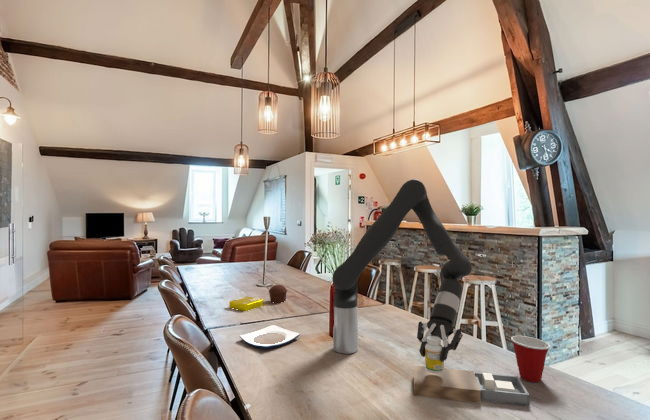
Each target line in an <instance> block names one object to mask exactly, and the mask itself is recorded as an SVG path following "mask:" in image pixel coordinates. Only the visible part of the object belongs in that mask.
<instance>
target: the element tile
mask: <svg viewBox="0 0 650 420" xmlns="http://www.w3.org/2000/svg"><path fill="white" fill-rule="evenodd" d="M228 303H229V304H228V306H229V307H230V308H234V309H238V310H242V311H241V312H243V311H247V312H249V311H248V310H251V309H254V308H257V307H260V306H263V307H264V299H263V298H259V297H253V296H248V295H247V296H243V297H239V298H237V299H233V300H230V301H229V302H228ZM229 307H228V308H229ZM230 308H229V309H230ZM260 308H261V307H260ZM234 309H233V310H234ZM257 309H258V308H257ZM238 310H237V311H238ZM254 310H255V309H254ZM251 311H252V310H251Z"/></svg>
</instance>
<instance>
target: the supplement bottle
mask: <svg viewBox="0 0 650 420" xmlns="http://www.w3.org/2000/svg"><path fill="white" fill-rule="evenodd" d="M441 341H442V340H441V339H440V338H439V337H437V336H428V337H427V344H426V345H425V357H424V358H425V364H424V365H425V367H426V369H427V371H429V372H431V373H442V372H443V371H444V368H445V367H444V366H445V365H444V363H445V361H444V362H441V361H440V354H441V350H442V347H443V344H441V343H442V342H441Z"/></svg>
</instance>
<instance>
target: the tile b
mask: <svg viewBox="0 0 650 420" xmlns="http://www.w3.org/2000/svg"><path fill="white" fill-rule="evenodd" d="M494 384H495V390H497V391H507V392H515V389H514V387H513V385H512V382H507V381H499V380H494Z"/></svg>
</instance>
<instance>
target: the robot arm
mask: <svg viewBox="0 0 650 420" xmlns="http://www.w3.org/2000/svg"><path fill="white" fill-rule="evenodd" d="M411 210H412V211H413V212H414V213H415V215H416V217H418V220H419V222H420V223H421V225H422V228H423V230H424V232H425V234H426V236H427V238H428V240H429V242H430V244H431V245H432V248H433V250H434V251H435V253H436V255H438V256H440V257H441V256H442V257H444V256H446V258H447V259H449V260H448V261H446V262H445V263H444V264H443V266H442V267H441V270H440V286H439V289H438V292H437V296H436V297H435V299H434V303H433V307H432V311H431V313H430V315H429V317H430V318H429V320H428V321H427V323H424V322H422V321H419V322H418V325H417V334H416V338H417V340H418V341H419V343H421V344H420V348H419V353H420V356H421V357H422V358H425V345H426V344H427V337H428V336H437V337H439V338H440V339H441V341H442V350H441V354H440V361H441V362H444V363H445V361H447V358H448V355H449V351H451V350H452V351H456V350H457V349H458V346H459V344H460V342H461V341H462V338H463V335H464V334H463V332H462V330H461V329H459V328H458V329H456V328H455V324H456V323H455V322H456V319H457V315H458V313H459V307H460V300H461V297H462V296H461V295H462V293H463V285H462V284H461V282H460V281H459V280H461V278H462V279H463V278H464V277H467V276H469V275H470V274H471V272H472V269H473V268H472V267H473V266H472V263H471V261H470V259H469V258H468V256H467V255H466V254H465V253H464V252H462V250H461V249H460V248H459V247H458V246H457V245H456V244H455V243H454V241H453V239H452V237H451V235H450V234H449V232H448V231H447V229H446V227H445V226H444V225H443V223H442V222H441V221H440V219H439V217H438V216H437V214H436V212H435V211H434V209H433V207H432V205H431V203H430V199H429V196H428V192H427V189H426V186H425V184H424V183H423V182H422V181H420V179H415V178H414V179H413V178H412V179H409V180H407V181H405V182H404V183H403V184H402V186H401V187H400V188H399V190H398V192H397V193H396V195H395V196H394V197H393V199H392V201H391V202H390V203H389V205H388V206H387V207H386V209H384V210H383V212H382V213H381V214H380V215H379V216H378V218H376V220H375V221H374V222H373V223H372V224H371V225H370V227H369V228H368V229H367V230H366V231H365V233H364V234H363V236H362V237H361V239H360V240H359V242H358V243H357V245H356V247H355V249H354V250H353V251H352V253H351V254H350V255H349V256H348V257H347V259H346V260H344V262H342V263H341V264H340V265H338V266H337V267H336V269H335V270H334V271H333V274H332V276H331V278H332V284H333V285H334V297H333V316H334V317H333V320H334V323H333V327H332V328H333V329H332V330H333V331H332V336H333V337H332V339H333V340H332V341H333V342H332V343H333V344H332V345H333V352H337V353H338V354H345V355H346V354H354V353H356V352H358V351H359V329H358V327H359V319H358V314H359V313H358V296H359V295H358V290H359V289H358V288H359V287H358V279H359V277H360V276H361V274H362V273H363V271H364V270H365V269H366V267H367V266H368V265H369V264H370V263H371V262H372V261H373V260H374V259H375V258H376V257H377V256H378V255H379V254H380V253H381V252H382V251H383V250H384V249H385V248H386V246H387V245H389V243H390V242H391V240H392V239H394V236H395V235H396V233H397V231H398V230H399V227H400V226H401V224H402V222H403V220H404V218H405V217H406V215H407V214H408V213H409V212H410V211H411ZM426 330H427V331H426ZM425 331H426V332H425ZM452 334H453V337H452V339H451V342H450V341H449V339H450V338H449V337H450V336H451V335H452Z"/></svg>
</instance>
